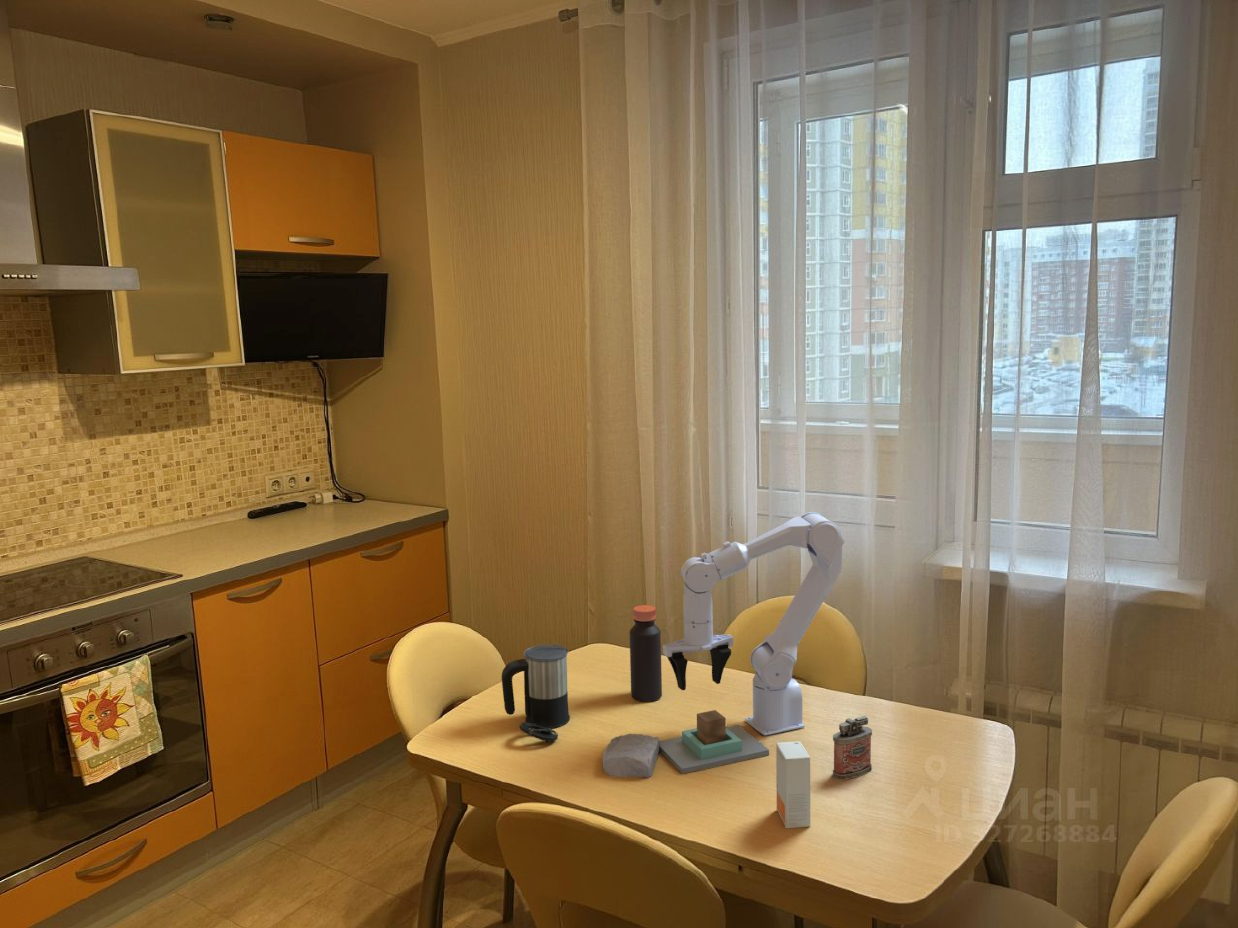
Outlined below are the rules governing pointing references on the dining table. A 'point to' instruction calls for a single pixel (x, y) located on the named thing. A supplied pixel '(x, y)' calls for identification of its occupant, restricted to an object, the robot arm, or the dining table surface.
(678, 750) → the assembly cradle
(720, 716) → the tall brown post
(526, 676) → the milk frother
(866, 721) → the lighter
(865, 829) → the dining table surface
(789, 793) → the skincare box
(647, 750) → the stone block
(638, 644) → the bottle
